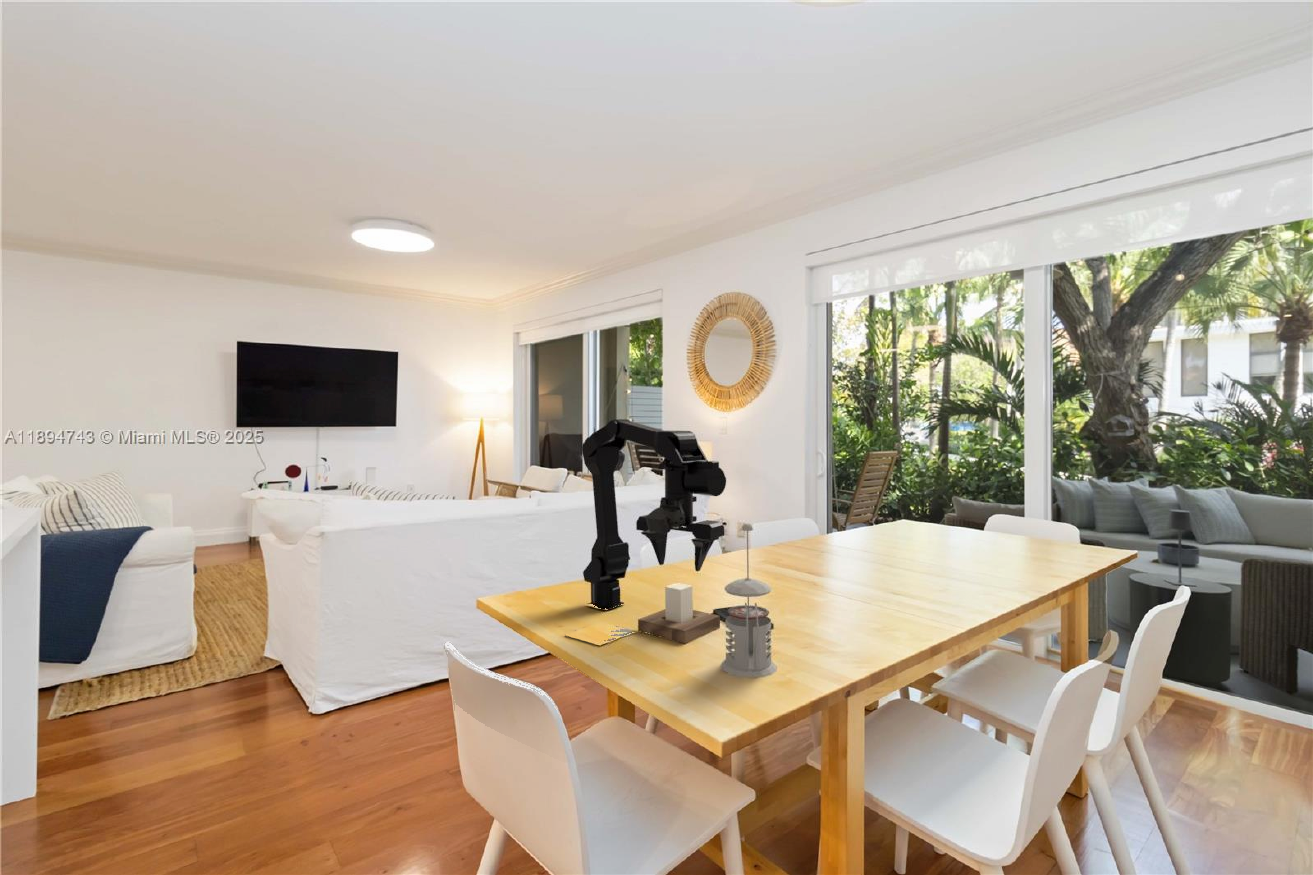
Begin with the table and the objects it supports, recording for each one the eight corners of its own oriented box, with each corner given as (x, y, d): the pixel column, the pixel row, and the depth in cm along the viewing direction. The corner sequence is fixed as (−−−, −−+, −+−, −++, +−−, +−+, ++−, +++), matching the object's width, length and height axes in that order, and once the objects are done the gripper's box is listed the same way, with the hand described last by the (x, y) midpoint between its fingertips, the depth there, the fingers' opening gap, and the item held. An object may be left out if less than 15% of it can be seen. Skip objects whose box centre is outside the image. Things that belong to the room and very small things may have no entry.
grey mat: (564, 636, 127) (564, 634, 127) (599, 623, 135) (599, 621, 135) (600, 646, 121) (600, 644, 121) (635, 632, 129) (635, 630, 129)
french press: (773, 656, 115) (771, 519, 114) (783, 682, 103) (782, 529, 103) (718, 656, 115) (717, 519, 115) (723, 682, 104) (721, 530, 103)
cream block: (665, 630, 130) (665, 586, 130) (677, 625, 133) (677, 582, 133) (681, 634, 127) (680, 589, 127) (692, 629, 131) (692, 585, 130)
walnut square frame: (638, 631, 129) (638, 619, 129) (674, 617, 139) (673, 605, 139) (685, 643, 122) (685, 630, 122) (719, 627, 131) (719, 615, 131)
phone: (742, 605, 144) (775, 625, 130) (742, 610, 144) (775, 630, 130) (710, 609, 142) (741, 629, 127) (710, 614, 142) (741, 635, 127)
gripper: (618, 492, 129) (619, 568, 130) (693, 499, 117) (694, 583, 118) (652, 487, 138) (653, 559, 138) (725, 493, 126) (726, 571, 127)
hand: (679, 567), depth 130 cm, fingers open, 9 cm apart
